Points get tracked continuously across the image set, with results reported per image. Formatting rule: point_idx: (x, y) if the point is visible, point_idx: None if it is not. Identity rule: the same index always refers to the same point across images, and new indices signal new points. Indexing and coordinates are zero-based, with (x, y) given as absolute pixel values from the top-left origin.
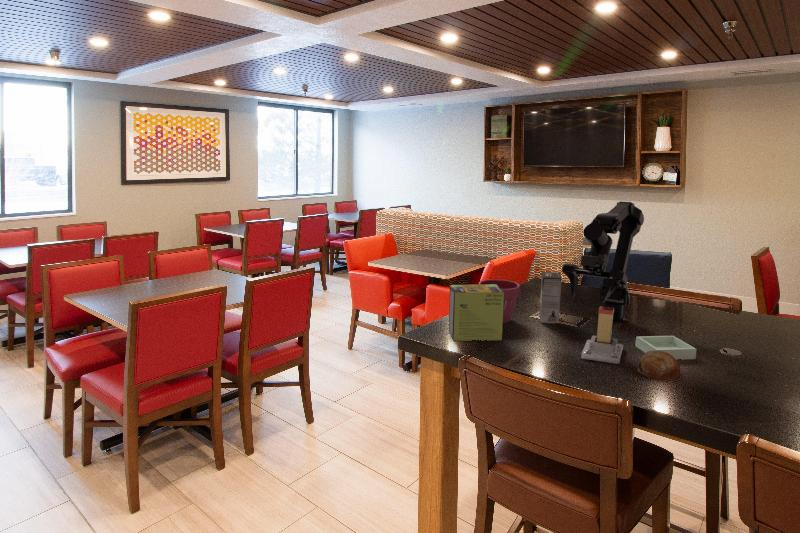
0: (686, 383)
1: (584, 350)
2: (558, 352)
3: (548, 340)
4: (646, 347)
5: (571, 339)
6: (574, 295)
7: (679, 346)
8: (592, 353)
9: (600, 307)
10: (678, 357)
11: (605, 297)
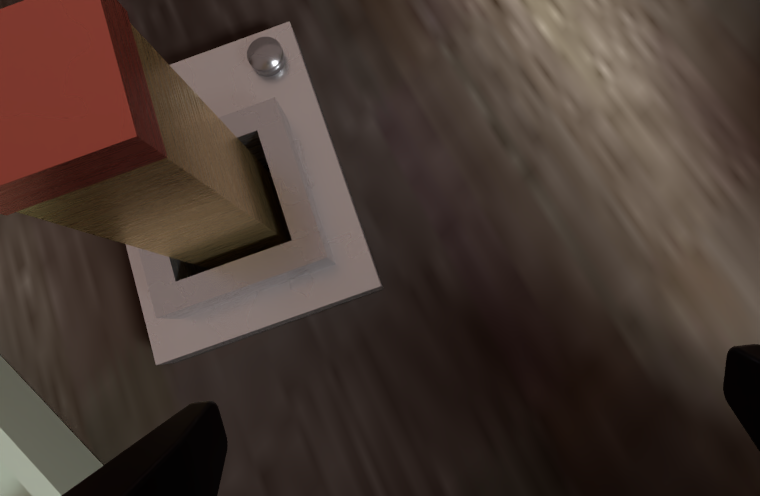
0: None
1: (297, 75)
2: (438, 31)
3: (609, 176)
4: (7, 403)
5: (511, 309)
6: (756, 426)
7: None
8: (239, 63)
9: (104, 66)
10: None
11: (125, 458)
